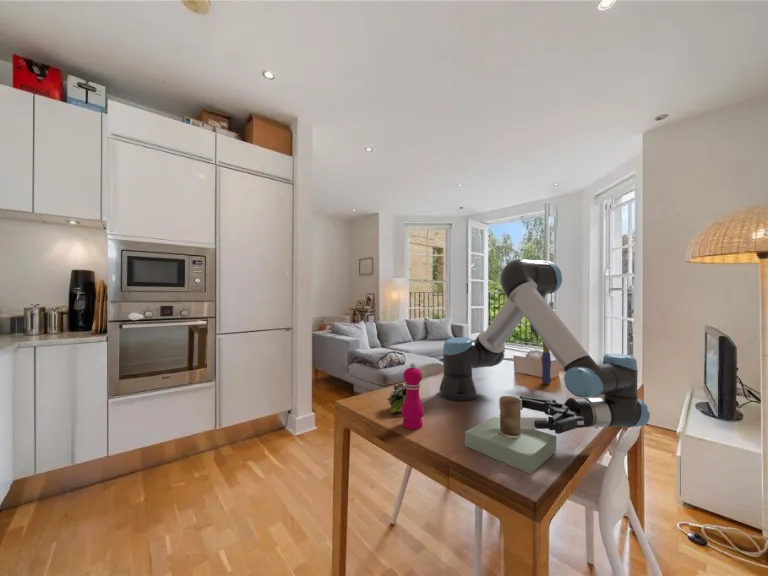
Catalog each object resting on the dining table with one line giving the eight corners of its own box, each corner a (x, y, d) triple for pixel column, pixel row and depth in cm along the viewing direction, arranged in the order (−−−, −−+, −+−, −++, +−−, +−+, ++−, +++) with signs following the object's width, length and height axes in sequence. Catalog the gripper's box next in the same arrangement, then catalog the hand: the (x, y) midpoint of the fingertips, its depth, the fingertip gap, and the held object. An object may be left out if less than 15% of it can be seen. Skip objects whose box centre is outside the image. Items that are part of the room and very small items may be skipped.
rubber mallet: (564, 385, 144) (563, 320, 145) (555, 388, 140) (555, 321, 141) (538, 379, 155) (537, 318, 155) (529, 381, 151) (529, 319, 151)
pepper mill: (417, 432, 96) (417, 366, 96) (397, 426, 100) (397, 363, 100) (427, 423, 102) (427, 362, 103) (407, 419, 106) (407, 359, 106)
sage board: (465, 445, 88) (465, 431, 88) (494, 429, 98) (494, 416, 98) (530, 473, 74) (530, 456, 74) (556, 451, 85) (556, 436, 85)
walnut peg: (496, 446, 86) (496, 398, 87) (505, 440, 90) (505, 394, 90) (515, 453, 82) (515, 404, 83) (524, 447, 86) (524, 399, 86)
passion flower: (398, 421, 117) (406, 390, 124) (420, 424, 110) (428, 391, 116) (377, 410, 112) (387, 378, 118) (399, 412, 104) (409, 378, 110)
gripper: (621, 448, 74) (531, 449, 73) (559, 409, 99) (492, 409, 98) (620, 416, 74) (531, 417, 74) (559, 385, 99) (492, 385, 99)
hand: (509, 412), depth 86 cm, fingers open, 13 cm apart
